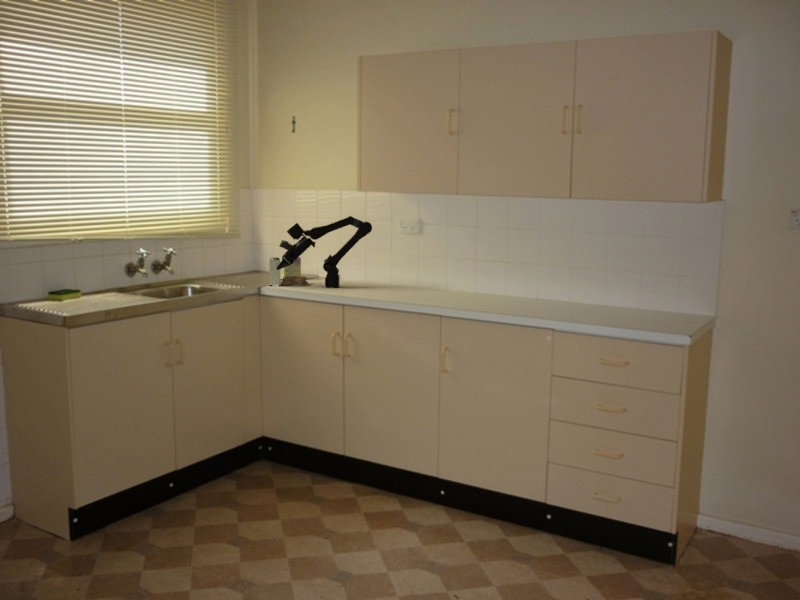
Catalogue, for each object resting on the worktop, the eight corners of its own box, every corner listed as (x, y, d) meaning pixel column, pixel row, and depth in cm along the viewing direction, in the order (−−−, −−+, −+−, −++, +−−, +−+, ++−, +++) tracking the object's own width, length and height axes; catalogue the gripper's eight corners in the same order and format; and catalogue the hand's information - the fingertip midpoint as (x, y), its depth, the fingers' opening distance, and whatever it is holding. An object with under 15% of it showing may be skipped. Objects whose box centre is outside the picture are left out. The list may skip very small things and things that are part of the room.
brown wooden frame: (307, 283, 409) (308, 276, 409) (304, 286, 400) (304, 279, 399) (284, 282, 410) (284, 275, 410) (280, 285, 400) (280, 278, 400)
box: (295, 278, 428) (295, 256, 427) (300, 279, 424) (301, 257, 422) (278, 279, 422) (278, 257, 420) (283, 280, 418) (284, 258, 416)
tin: (279, 285, 401) (280, 257, 399) (279, 286, 396) (279, 258, 394) (269, 284, 400) (270, 257, 398) (269, 286, 396) (269, 258, 393)
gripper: (291, 233, 404) (268, 254, 405) (287, 236, 386) (264, 258, 387) (306, 249, 406) (284, 270, 407) (303, 253, 387) (280, 275, 388)
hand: (277, 268), depth 397 cm, fingers open, 9 cm apart
